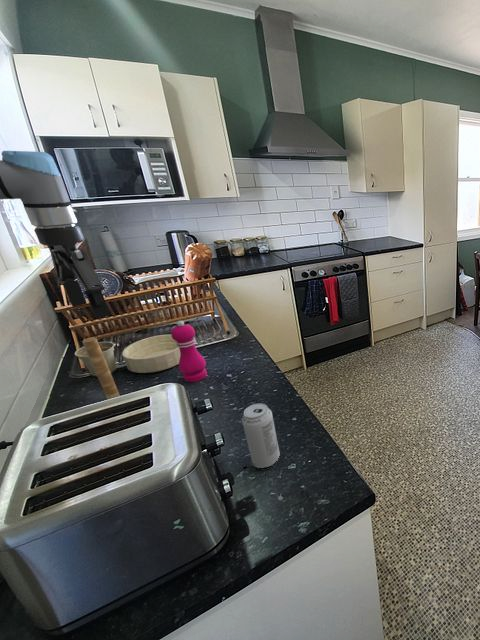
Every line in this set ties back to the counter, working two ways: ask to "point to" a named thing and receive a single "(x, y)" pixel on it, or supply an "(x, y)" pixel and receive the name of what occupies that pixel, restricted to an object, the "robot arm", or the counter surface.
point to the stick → (101, 367)
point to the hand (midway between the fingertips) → (91, 310)
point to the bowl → (152, 354)
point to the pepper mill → (189, 353)
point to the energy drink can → (260, 435)
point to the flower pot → (107, 352)
